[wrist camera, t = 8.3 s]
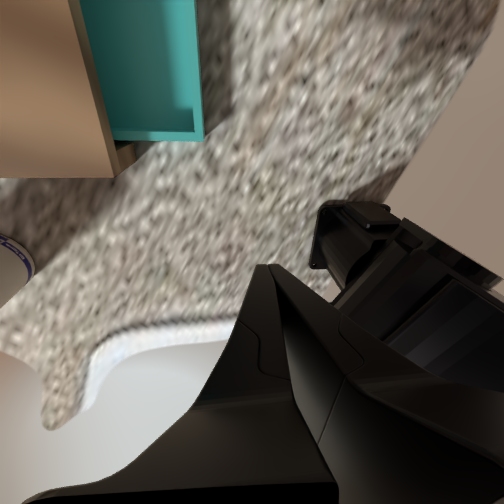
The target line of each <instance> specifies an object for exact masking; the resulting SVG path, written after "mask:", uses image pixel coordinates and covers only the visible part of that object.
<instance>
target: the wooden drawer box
mask: <svg viewBox="0 0 504 504" xmlns="http://www.w3.org/2000/svg"><path fill="white" fill-rule="evenodd" d="M136 161H137V159H136V154H135V149H134V145H133V143H117V142H114V141H113V137H112V133H111V129H110V125H109V120H108V116H107V112H106V108H105V104H104V100H103V96H102V92H101V88H100V84H99V80H98V76H97V72H96V68H95V63H94V59H93V55H92V51H91V47H90V43H89V39H88V35H87V31H86V27H85V23H84V19H83V15H82V10H81V6H80V2H79V0H0V178H114V177H116V176H117V175H118V174H120V173H121V172H122V171H124V170H125V169H126V168H128V167H129V166H130V165H132V164H133V163H135V162H136Z"/></svg>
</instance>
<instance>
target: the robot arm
mask: <svg viewBox="0 0 504 504" xmlns="http://www.w3.org/2000/svg"><path fill="white" fill-rule="evenodd" d="M324 210H327V211H326V212H325V213H322V212H323V211H324ZM390 210H391V209H390V207H389V206H388V205H385V204H376V203H374V202H346V203H345V204H343V205H323V206H321V207H320V208H319V210H318V214H317V220H316V226H315V231H314V237H313V242H312V248H311V254H310V259H309V266H310V268H311V269H327V270H328V272H329V273H330V275H331V276H332V278H333V279H334V281H335V282H336V284H337V285H338V287H339V288H340V290H341V292H340V293H339V295H338V296H337V297H336V298H335V299H334V300H333V301H332V302H330V303H329V302H327V301H326V300H325V299H323V298H322V297H321V296H320V295H318V294H317V293H316V292H314V291H313V290H312V289H310V288H309V287H308V286H307V285H305V284H304V283H303V282H301V281H300V280H299V279H297V278H296V277H295V276H294V275H292V274H291V273H290V272H288V271H287V270H286V269H284V268H283V267H282V266H281V265H279V264H268V265H266V264H258V265H256V267H255V270H254V272H253V275H252V278H251V281H250V284H249V286H248V289H247V292H246V295H245V298H244V300H243V303H242V306H241V309H240V312H239V314H238V317H237V320H236V322H235V325H234V328H233V330H232V333H231V335H230V338H229V340H228V343H227V345H226V347H225V349H224V350H223V352H222V354H221V356H220V358H219V360H218V362H217V363H216V365H215V367H214V369H213V371H212V372H211V374H210V376H209V378H208V380H207V382H206V383H205V385H204V387H203V389H202V390H201V392H200V394H199V396H198V397H197V399H196V400H195V402H194V403H193V405H192V406H191V407H190V408H189V410H188V411H187V412H186V413H185V414H184V415H183V416H182V417H181V418H180V419H178V420H177V421H176V422H175V423H174V424H173V425H172V426H171V427H170V428H169V429H168V430H166V431H165V432H164V433H163V434H162V435H161V436H160V437H159V438H158V439H157V440H155V441H154V442H153V443H152V444H151V445H150V446H149V447H148V448H147V449H146V450H145V451H144V452H142V453H141V454H140V455H139V456H138V457H137V458H136V459H135V460H134V461H132V462H131V463H130V464H129V465H127V466H126V467H125V468H123V469H122V470H120V471H118V472H116V473H115V474H113V475H111V476H109V477H106V478H104V479H102V480H99V481H96V482H92V483H88V484H82V485H74V486H67V487H61V488H55V489H50V490H47V491H44V492H41V493H38V494H36V495H34V496H32V497H30V498H28V499H26V500H25V501H24V502H23V503H22V504H504V296H503V295H501V294H499V293H498V292H497V291H495V290H494V289H492V288H493V287H495V286H496V285H497V284H499V283H500V282H501V281H502V280H504V279H503V278H501V277H500V276H498V275H497V274H495V273H493V272H492V271H490V270H489V269H487V268H486V267H484V266H483V265H481V264H480V263H478V262H476V261H475V260H473V259H472V258H470V257H468V256H467V255H465V254H463V253H462V252H460V251H459V250H457V249H455V248H454V247H452V246H451V245H449V244H447V243H446V242H444V241H442V240H441V239H439V238H437V237H436V236H434V235H433V234H431V233H429V232H427V231H426V230H424V229H423V228H421V227H419V226H418V225H416V224H415V223H413V222H411V221H409V220H408V219H406V218H403V219H402V221H401V220H400V219H399V218H397V217H396V216H394V215H393V214H391V213H390ZM314 263H316V264H315V265H313V264H314Z"/></svg>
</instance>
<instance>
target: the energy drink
mask: <svg viewBox="0 0 504 504" xmlns="http://www.w3.org/2000/svg"><path fill="white" fill-rule="evenodd" d="M34 272H35V266H34V262H33V260H32V258H31V256H30V254H29V253H28V252H27V250H26V249H25V248H23V247H22V246H21V245H20V244H18V243H17V242H15V241H14V240H12V239H10V238H8V237H5V236H3V235H0V308H1V307H3V306H4V305H5V304H6V303H7V302H8V301H9V300H10V299H11V298H12V297H13V296H14V295H15V294H16V293H17V292H18V291H19V290H20V289H21V288H22V287H23V286H24V285H26V284H27V283H28V282H29V281H30V280H31V278H32V277H33V275H34Z"/></svg>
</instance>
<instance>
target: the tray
mask: <svg viewBox="0 0 504 504" xmlns="http://www.w3.org/2000/svg"><path fill="white" fill-rule="evenodd" d="M79 2H80V6H81V10H82V15H83V19H84V23H85V27H86V31H87V35H88V39H89V43H90V47H91V51H92V55H93V59H94V63H95V68H96V72H97V76H98V80H99V84H100V88H101V92H102V96H103V100H104V104H105V108H106V112H107V116H108V120H109V125H110V129H111V133H112V137H113V140H138V141H204V139H205V125H204V109H203V94H202V78H201V63H200V47H199V32H198V16H197V1H196V0H79Z"/></svg>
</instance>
